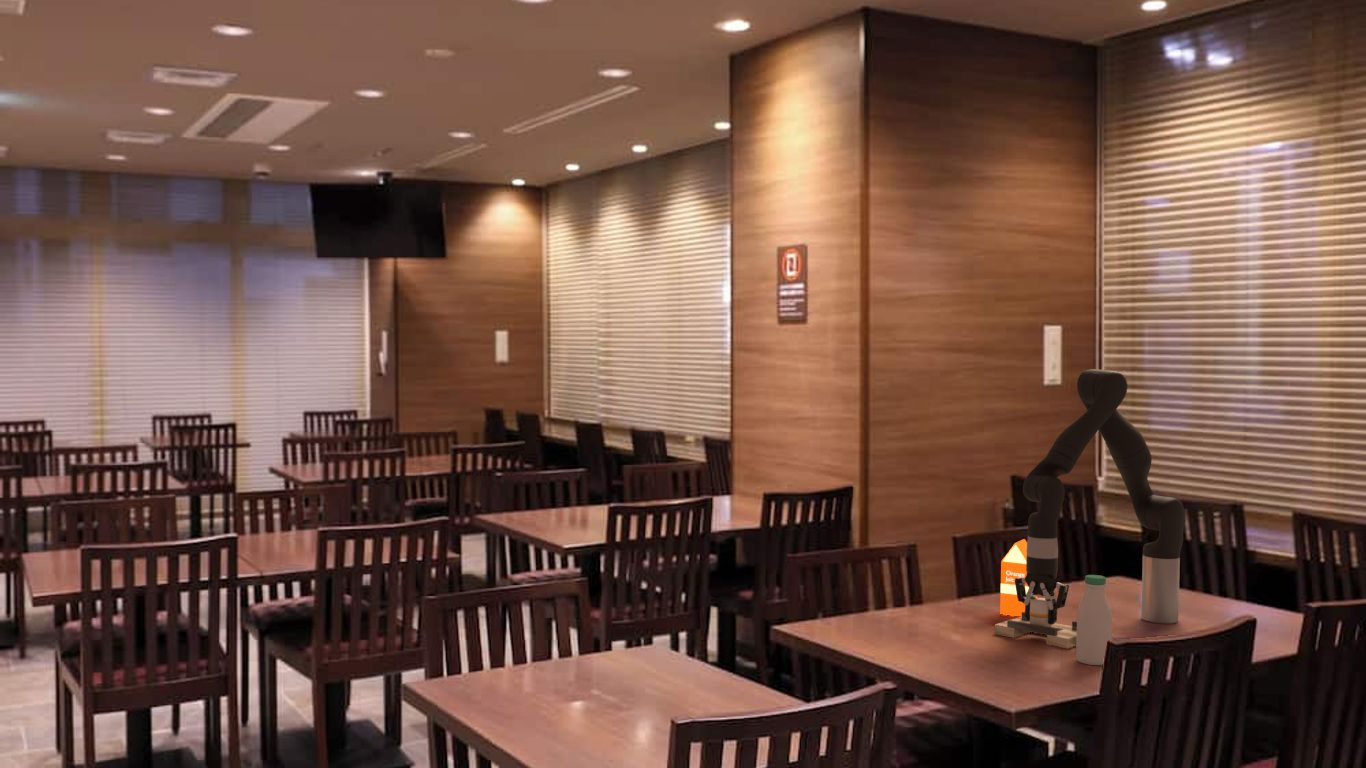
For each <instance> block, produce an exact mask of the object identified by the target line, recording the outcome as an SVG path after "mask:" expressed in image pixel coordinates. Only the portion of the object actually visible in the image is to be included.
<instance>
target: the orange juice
mask: <svg viewBox="0 0 1366 768" xmlns="http://www.w3.org/2000/svg"><path fill="white" fill-rule="evenodd" d="M1026 549H1027V540H1026V539H1025V538H1024V539H1021V540H1019V541H1017V542H1014V544H1013V545H1012V547H1011V548H1010V549H1009V551H1008V552H1007V553H1006V555H1005V556H1004V557H1003V558H1002V560H1001V562H1000V565H1001V566H1000V568H1001V569H1000V608H999V609H1000V611H999V612H1000V613H999V614H1003V615H1002V616H1007V615H1010V616H1009V617H1014V616H1021V617H1022V612H1024V611H1025V604H1024V603H1022V602H1019V601H1018V598H1017V592H1016V586H1015V579H1016V578H1019V577H1023V578H1025V577H1026V575H1027V572H1026V554H1027V552H1026ZM1028 589H1029V587H1028V585H1027V583H1026V585H1025V590H1026V594H1027V592H1028ZM1035 598H1038V595H1037V596H1036V597H1035Z"/></svg>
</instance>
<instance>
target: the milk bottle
mask: <svg viewBox="0 0 1366 768" xmlns="http://www.w3.org/2000/svg"><path fill="white" fill-rule="evenodd" d="M1106 582H1107V578H1106V577H1105V576H1103V575H1100V574H1099V575H1097V574H1088V575H1087V574H1086V575H1085V577H1084V586H1085V591H1084V593H1083V596H1082V598H1081V600H1080V602H1079V605H1078V606H1077V614H1076V616H1077V618H1076V620H1077V638H1076V646H1075V647H1076V648H1075V651H1076V653H1075V655H1076V657H1075V658H1076V661H1077V662H1079V663H1080V664H1084V665H1090V666H1103V665H1102V663H1103V658H1104V653H1105V648H1106V643H1107V641H1108V640H1112V638H1113V636H1112V635H1113V631H1112V630H1113V622H1112V621H1113V617H1112V616H1113V615H1112V608H1111V605H1110V603H1109V600H1108V597H1107V594H1106V590H1105V587H1106Z"/></svg>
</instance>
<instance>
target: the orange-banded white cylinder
mask: <svg viewBox="0 0 1366 768" xmlns="http://www.w3.org/2000/svg"><path fill="white" fill-rule="evenodd" d="M1048 610H1049V606H1048V603H1047V601H1046V600H1045V597H1037V598H1031V599H1030V624H1034V625H1040V626H1045V627H1050V628H1051V624H1048Z"/></svg>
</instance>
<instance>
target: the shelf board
mask: <svg viewBox="0 0 1366 768" xmlns="http://www.w3.org/2000/svg"><path fill="white" fill-rule="evenodd" d="M1030 632H1031V633H1032V632H1034V633H1033V634H1037V633H1041V634H1040V635H1042V634H1046V635H1045V636H1046V645H1047V644H1049V645H1048V646H1052V645H1053V646H1052V647H1057V646H1058V648H1063V649H1067V648H1068V649H1070V648H1074V647H1076V638H1077V619H1076V620H1073V621H1072V622H1071V625H1068V624H1067V625H1066V624H1061V623H1056V622H1055V623H1054V624H1052V625H1051V628H1050V627H1045V626H1040V625H1034V624H1030V621H1029V620H1027V618H1026V617H1025V611H1024V612H1022V617H1015V618H1013V619H1008V620H1005V621H1002V622H999V623H996V624H994V635H998V636H1003V637H1008V638H1014V639H1015V638H1018V637H1020V636H1024V634H1025V635H1027V633H1028V634H1031V633H1030ZM1073 646H1074V647H1073Z"/></svg>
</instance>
